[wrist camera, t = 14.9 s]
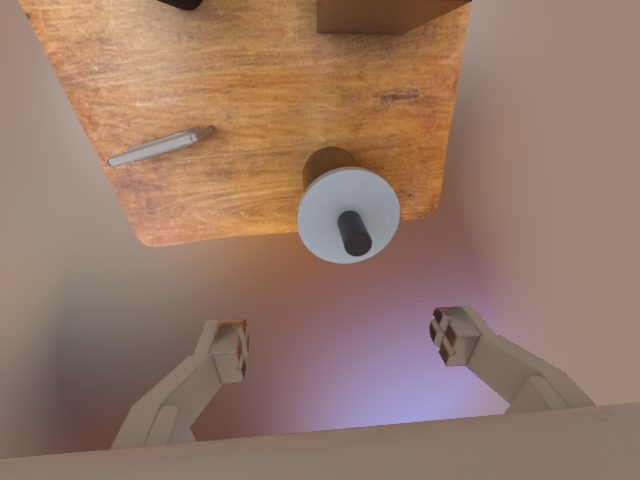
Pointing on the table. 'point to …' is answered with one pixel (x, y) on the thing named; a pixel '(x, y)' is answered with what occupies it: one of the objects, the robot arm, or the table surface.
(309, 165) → the thermos
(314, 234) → the lid
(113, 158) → the cassette
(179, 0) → the drinking cup
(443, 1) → the riser
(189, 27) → the table surface
